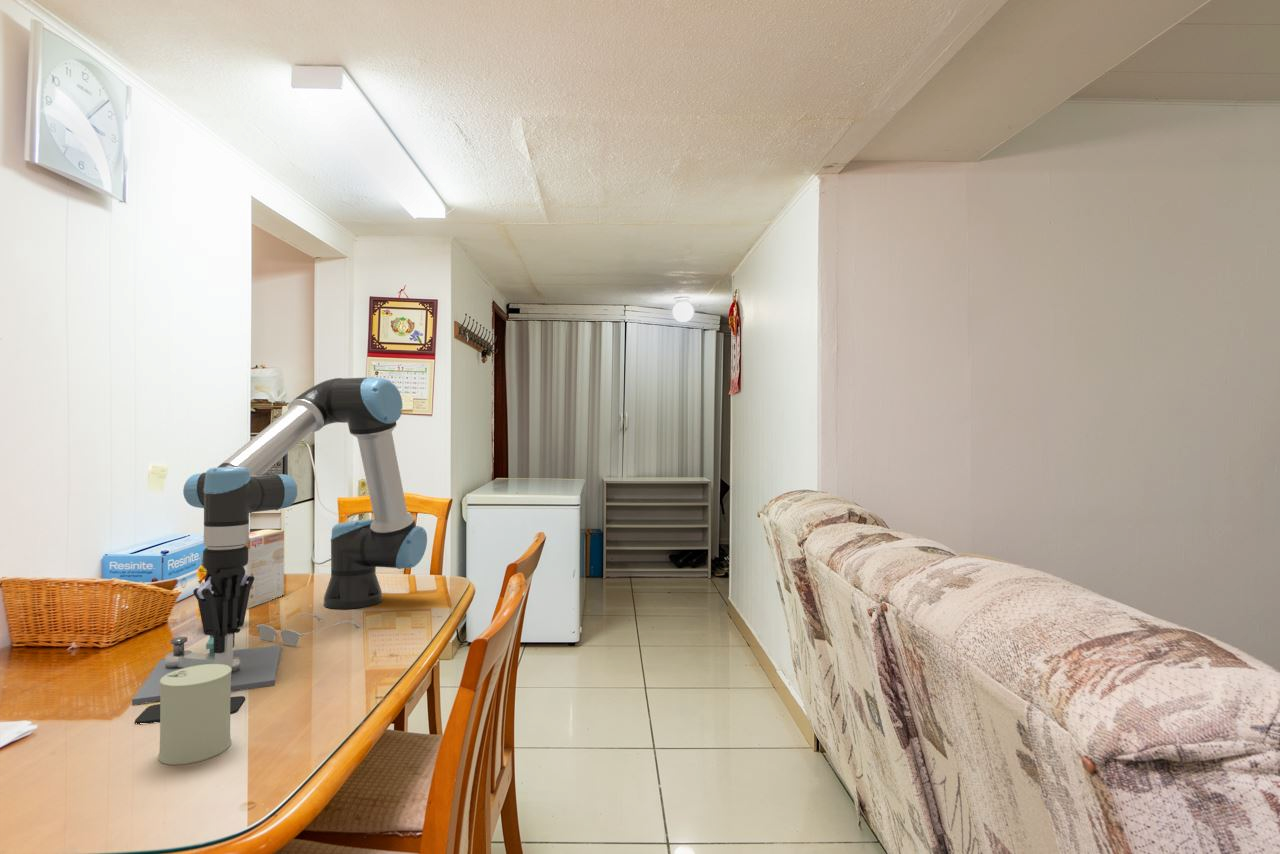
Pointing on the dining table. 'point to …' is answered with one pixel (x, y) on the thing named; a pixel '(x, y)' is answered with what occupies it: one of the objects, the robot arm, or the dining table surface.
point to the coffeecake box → (265, 565)
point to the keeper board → (253, 672)
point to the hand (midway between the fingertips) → (223, 667)
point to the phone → (153, 711)
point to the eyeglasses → (287, 632)
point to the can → (194, 713)
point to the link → (191, 656)
